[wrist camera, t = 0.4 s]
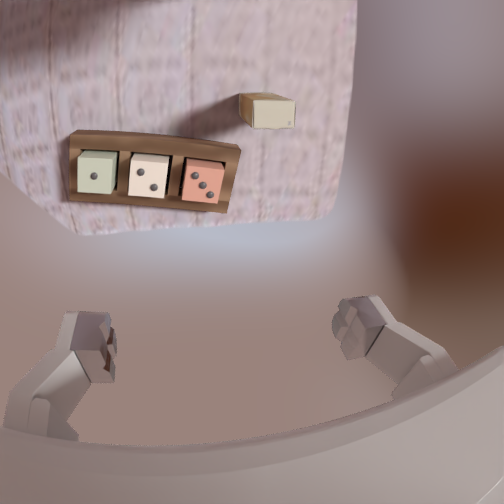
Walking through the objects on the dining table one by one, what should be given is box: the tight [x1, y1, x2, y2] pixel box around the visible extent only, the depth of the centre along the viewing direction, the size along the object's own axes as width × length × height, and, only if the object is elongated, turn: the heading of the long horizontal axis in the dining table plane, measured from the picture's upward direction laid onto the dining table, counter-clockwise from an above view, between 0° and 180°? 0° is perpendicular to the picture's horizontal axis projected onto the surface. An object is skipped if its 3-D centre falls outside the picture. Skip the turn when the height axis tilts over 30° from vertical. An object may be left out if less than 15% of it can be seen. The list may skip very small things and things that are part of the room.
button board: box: [69, 130, 241, 213], centre depth 47 cm, size 12×29×4 cm, turn 76°
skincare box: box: [239, 93, 296, 129], centre depth 42 cm, size 6×4×12 cm
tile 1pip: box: [78, 149, 119, 194], centre depth 43 cm, size 6×6×5 cm
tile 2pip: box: [128, 152, 170, 198], centre depth 45 cm, size 6×6×5 cm
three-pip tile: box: [182, 157, 225, 204], centre depth 48 cm, size 6×6×5 cm
